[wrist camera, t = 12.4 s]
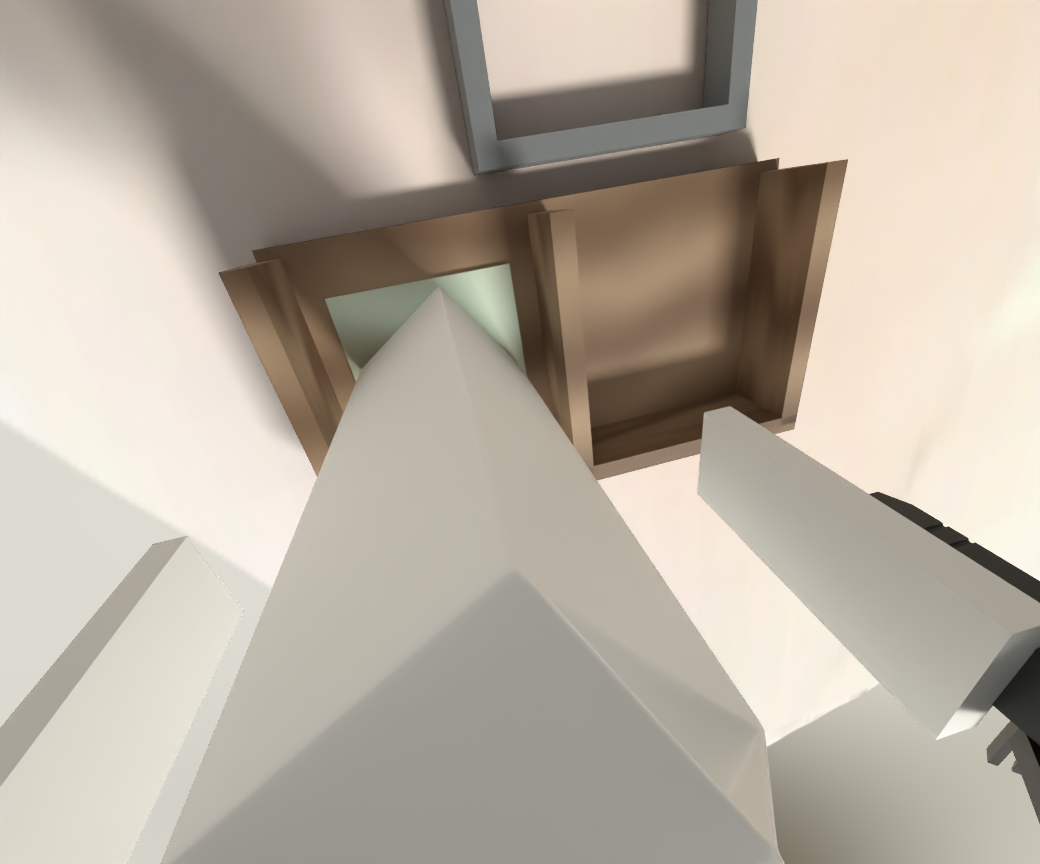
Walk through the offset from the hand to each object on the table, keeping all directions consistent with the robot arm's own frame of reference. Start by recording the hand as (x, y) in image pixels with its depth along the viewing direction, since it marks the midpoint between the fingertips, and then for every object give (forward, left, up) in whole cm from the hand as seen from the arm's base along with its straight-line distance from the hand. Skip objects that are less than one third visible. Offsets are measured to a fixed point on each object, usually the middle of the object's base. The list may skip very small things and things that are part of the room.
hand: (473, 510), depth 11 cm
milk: (0, 0, -13) cm, 13 cm away
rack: (0, +6, -15) cm, 16 cm away
